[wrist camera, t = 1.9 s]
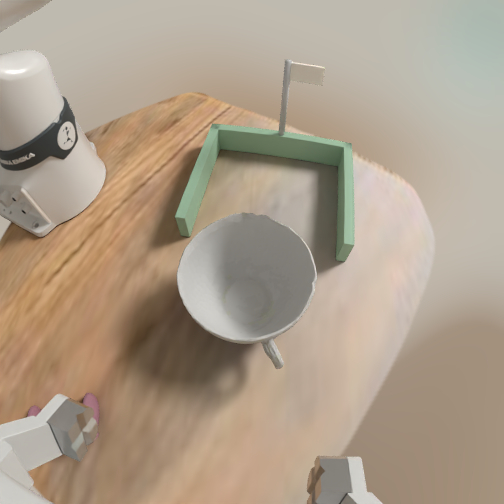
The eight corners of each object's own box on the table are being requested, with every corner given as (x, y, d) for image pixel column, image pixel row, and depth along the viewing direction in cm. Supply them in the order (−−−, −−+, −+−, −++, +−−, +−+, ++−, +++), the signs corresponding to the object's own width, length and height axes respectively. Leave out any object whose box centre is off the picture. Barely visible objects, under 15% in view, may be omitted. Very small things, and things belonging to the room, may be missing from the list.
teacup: (179, 268, 37) (164, 232, 30) (279, 239, 39) (285, 198, 32) (215, 393, 30) (206, 387, 23) (328, 354, 32) (350, 337, 25)
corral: (180, 235, 39) (151, 137, 25) (214, 143, 47) (206, 52, 33) (344, 261, 37) (392, 171, 23) (345, 162, 46) (371, 74, 32)
